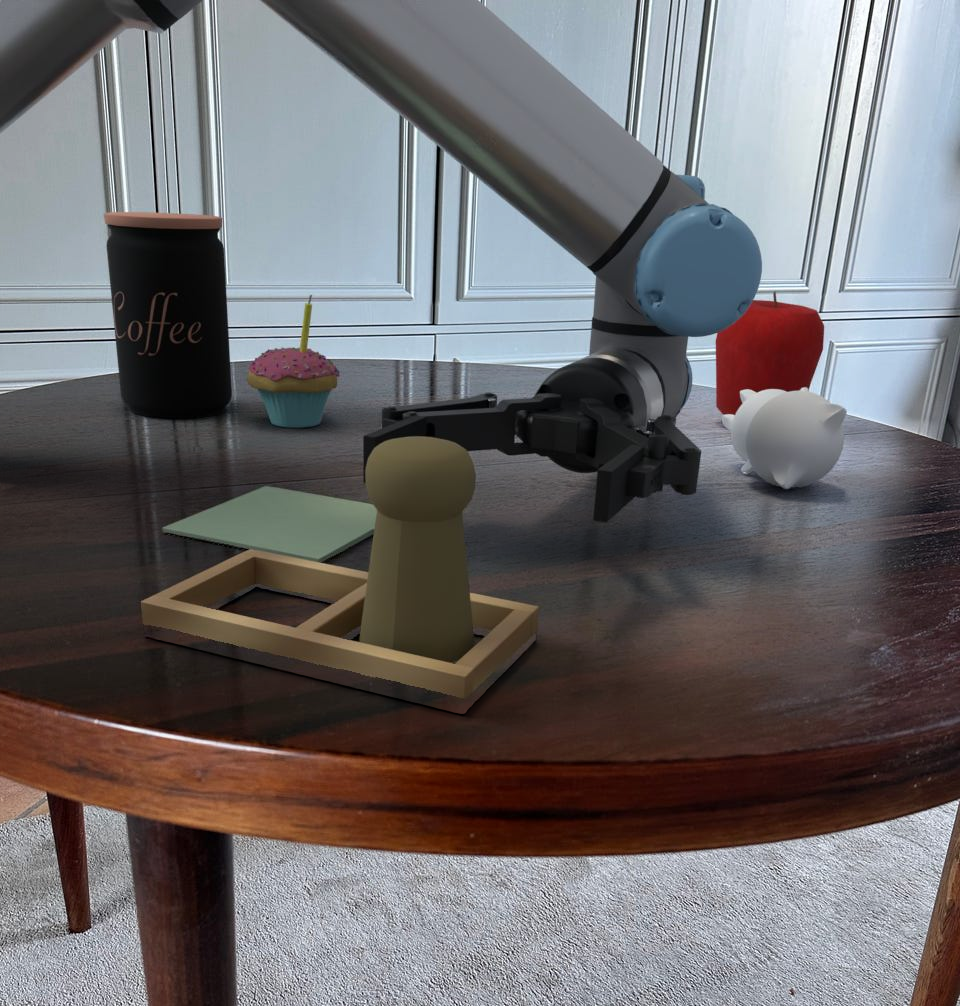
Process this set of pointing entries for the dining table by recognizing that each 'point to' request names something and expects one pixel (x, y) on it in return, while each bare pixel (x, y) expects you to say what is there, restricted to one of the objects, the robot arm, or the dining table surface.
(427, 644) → the cork
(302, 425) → the cupcake
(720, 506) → the dining table surface
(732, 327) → the apple
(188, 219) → the coffee jar
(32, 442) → the dining table surface
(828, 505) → the dining table surface
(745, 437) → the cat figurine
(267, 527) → the mat
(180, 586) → the stand
